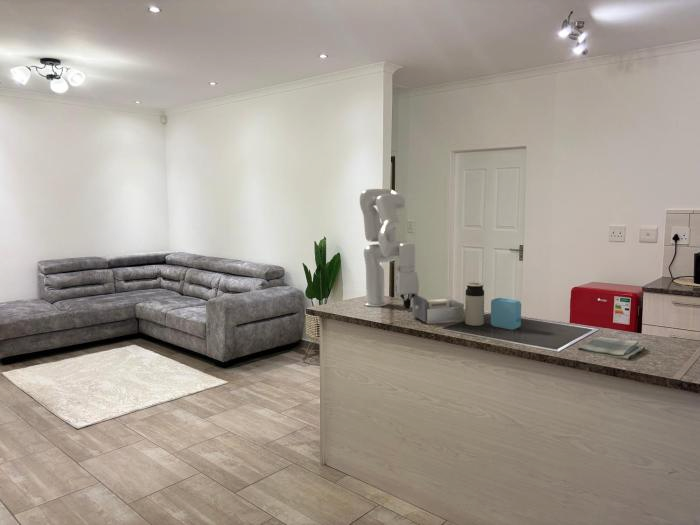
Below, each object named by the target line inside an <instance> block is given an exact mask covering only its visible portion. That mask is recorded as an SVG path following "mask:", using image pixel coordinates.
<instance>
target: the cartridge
mask: <svg viewBox="0 0 700 525" xmlns="http://www.w3.org/2000/svg"><path fill="white" fill-rule="evenodd" d="M426 300H427V309H437V308H449V301H448V300H447V298H442V299H441V298H440V299H439V298H438V299H426Z"/></svg>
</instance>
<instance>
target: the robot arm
mask: <svg viewBox="0 0 700 525" xmlns="http://www.w3.org/2000/svg"><path fill="white" fill-rule="evenodd" d="M405 205H406V201H405V197H404V196H403V195H402V194H401V193H400V192H398V191H396V190H394V189H392V188H370V189H369V188H368V189H364V190H362V191H361V193H360V196H359V206H360V209H361V212H362V215H363V226H364V235H365V236H364V237H365V239H366V241H368V242H369V243H373V242H374V244H369V245H367V246H366V247H365V248H364V250H363V257H364V262H365V286H366V287H365V291H366V292H365V293H366V294H365V295H366V296H365V297H366V300H365V301H363V305H364V306H366V307H371V308H372V307H373V308H375V307H377V308H378V307H385V306H387V305H388V301H387V300H385V270H384V268H383V266H382V265H381V263H388V262H389V263H390V262H393V261H395V260H396V259H397V258H398V266H396V267H395V270H396V271H398V272H397V274H396V279H395V297H400V298H401V299H402V300H403V308H404V309H406V310H408V309H410V308H411V307H412V306H411V305H412V303H411V300H412V298H413V297H414V294H416V295H418V296H419V291H420V284H419V276H418V272H417V271H416V245H415V243H413V242H410V241H407V240H397V236H396V229H395V228H396V227H397V226H398V225H399V224H400V218H399V215H398V211H403V209H404V208H405ZM375 242H377V243H376V244H375Z"/></svg>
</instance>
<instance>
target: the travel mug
mask: <svg viewBox="0 0 700 525" xmlns="http://www.w3.org/2000/svg"><path fill="white" fill-rule="evenodd" d="M464 305H465V307H464V308H465V309H464V310H465V312H464V315H465V316H464V319H465V320H464V322H465V324H466V325H467V326H472V327H476V326H478V327H479V326H482V325H484V324H485V289H484V283H483V282H474V281H473V282H466V289H465V304H464Z"/></svg>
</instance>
